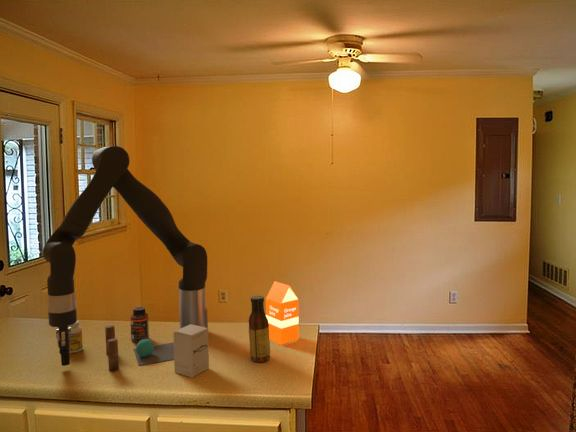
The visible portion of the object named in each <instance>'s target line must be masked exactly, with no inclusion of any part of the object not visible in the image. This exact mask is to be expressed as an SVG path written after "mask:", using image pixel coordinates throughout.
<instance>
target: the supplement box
mask: <svg viewBox="0 0 576 432" xmlns="http://www.w3.org/2000/svg"><path fill="white" fill-rule="evenodd" d="M172 333H173V342H174V360H173V361H174V363H173V364H174V366H173V367H174V372H175V373H176V374H180V375H183V376H187V377H188V378H194V377H195V376H197V375H199V374H201V373H202V372H205V371H206V370H208V369H210V359H209V358H210V357H209V356H210V355H209V353H210V352H209V349H210V348H209V327H208V328H205V327H201V326H196V325H192V324H190V325H188V326H185V327H183V328H181V329H180V328H179V329H175V330H174V331H173V332H172Z"/></svg>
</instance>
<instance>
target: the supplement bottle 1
mask: <svg viewBox="0 0 576 432" xmlns="http://www.w3.org/2000/svg"><path fill="white" fill-rule="evenodd" d="M70 327H71V345H70V347H69V348H70V351H69V354H71V353H72V354H74V352H75V353H78V352H80V351H82V350H83V348H84V345H83V331H82V327H81V326H80V321H79V320H78V319H77V322H76V323H74V324H72V325H69V326H68V328H70Z"/></svg>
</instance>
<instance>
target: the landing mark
mask: <svg viewBox="0 0 576 432" xmlns="http://www.w3.org/2000/svg"><path fill="white" fill-rule="evenodd" d="M133 352H134V355H135V358H136V361H137V365H138V367H141V366H146V365H152V364H156V363H158V364H159V363H163V362H164V363H165V362H169V361H174V341H173V342H169V343H168V342H167V343H162V344H156V345H155V344H154V351H153V353H152V354H151V355H150V356H148V357H141V356H139V355H138V354H137V352H136V348H133Z"/></svg>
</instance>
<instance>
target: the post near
mask: <svg viewBox="0 0 576 432" xmlns="http://www.w3.org/2000/svg"><path fill="white" fill-rule="evenodd" d="M107 343H108V355H107V363H108V372H112V373H113V372H114V373H115V372H117V371H119V370H120V366H119V365H120V363H119V341H118V339H117V338H115V339H109V340H108V341H107Z"/></svg>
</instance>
